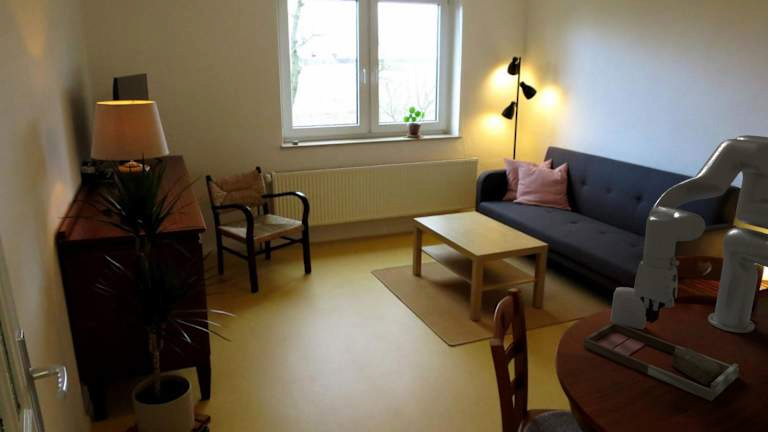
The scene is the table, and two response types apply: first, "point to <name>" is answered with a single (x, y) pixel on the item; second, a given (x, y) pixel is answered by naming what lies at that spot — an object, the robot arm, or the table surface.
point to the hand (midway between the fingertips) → (651, 320)
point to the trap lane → (631, 345)
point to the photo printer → (628, 309)
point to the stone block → (696, 366)
